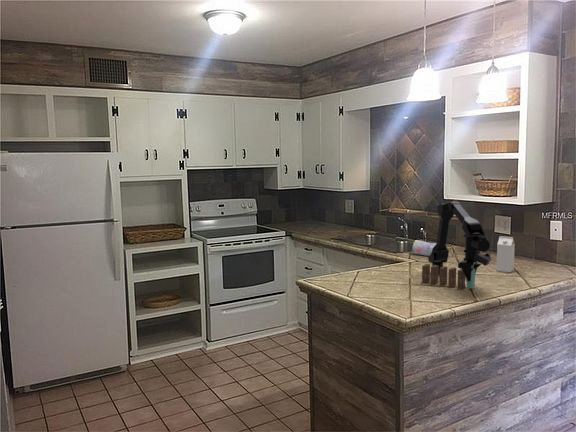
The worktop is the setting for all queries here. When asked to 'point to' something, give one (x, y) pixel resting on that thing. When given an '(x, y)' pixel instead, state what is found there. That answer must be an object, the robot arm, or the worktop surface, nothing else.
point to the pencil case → (423, 248)
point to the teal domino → (472, 282)
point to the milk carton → (505, 254)
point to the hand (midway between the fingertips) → (470, 279)
